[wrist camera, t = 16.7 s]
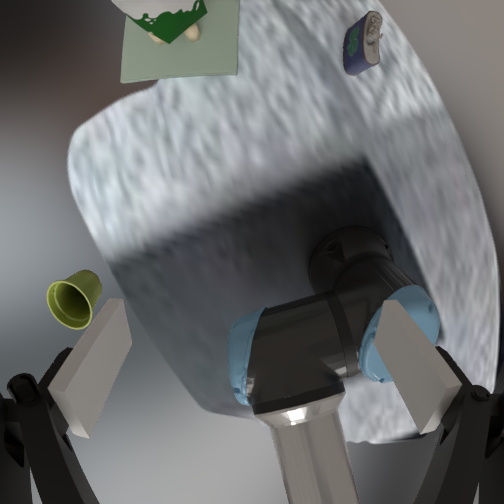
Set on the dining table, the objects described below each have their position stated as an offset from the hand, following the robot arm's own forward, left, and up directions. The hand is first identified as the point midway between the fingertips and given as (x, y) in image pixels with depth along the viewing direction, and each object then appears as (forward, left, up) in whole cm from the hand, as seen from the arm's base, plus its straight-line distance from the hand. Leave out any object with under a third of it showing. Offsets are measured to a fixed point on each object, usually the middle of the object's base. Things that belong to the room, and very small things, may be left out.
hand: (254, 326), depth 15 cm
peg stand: (+11, -28, -35) cm, 46 cm away
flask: (-16, -25, -35) cm, 46 cm away
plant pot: (+30, +16, -35) cm, 49 cm away
